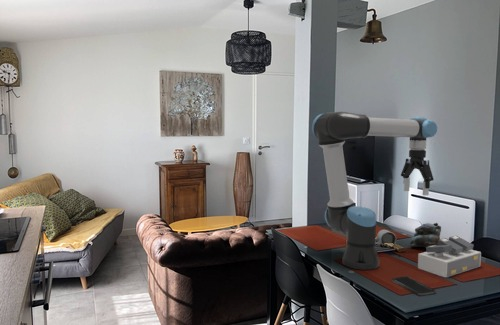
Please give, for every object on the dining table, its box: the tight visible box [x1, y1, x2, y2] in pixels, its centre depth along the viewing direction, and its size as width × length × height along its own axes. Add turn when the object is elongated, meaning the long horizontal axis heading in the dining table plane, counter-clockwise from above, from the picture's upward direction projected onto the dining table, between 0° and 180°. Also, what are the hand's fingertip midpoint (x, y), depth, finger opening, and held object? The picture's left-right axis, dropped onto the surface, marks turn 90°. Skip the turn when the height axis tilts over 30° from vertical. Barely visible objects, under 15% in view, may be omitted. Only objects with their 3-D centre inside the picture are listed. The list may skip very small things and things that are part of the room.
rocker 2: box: [437, 237, 463, 254], centre depth 159 cm, size 8×5×2 cm, turn 31°
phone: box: [391, 275, 437, 297], centre depth 140 cm, size 8×1×15 cm
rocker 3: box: [448, 235, 475, 251], centre depth 163 cm, size 8×5×2 cm, turn 31°
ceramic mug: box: [375, 229, 397, 246], centre depth 191 cm, size 11×8×8 cm
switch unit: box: [417, 249, 482, 278], centre depth 160 cm, size 24×12×8 cm, turn 121°
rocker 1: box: [425, 245, 452, 252], centre depth 156 cm, size 8×5×2 cm, turn 31°
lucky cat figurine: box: [409, 222, 442, 248], centre depth 187 cm, size 15×12×14 cm
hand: (415, 193), depth 189 cm, fingers open, 13 cm apart
